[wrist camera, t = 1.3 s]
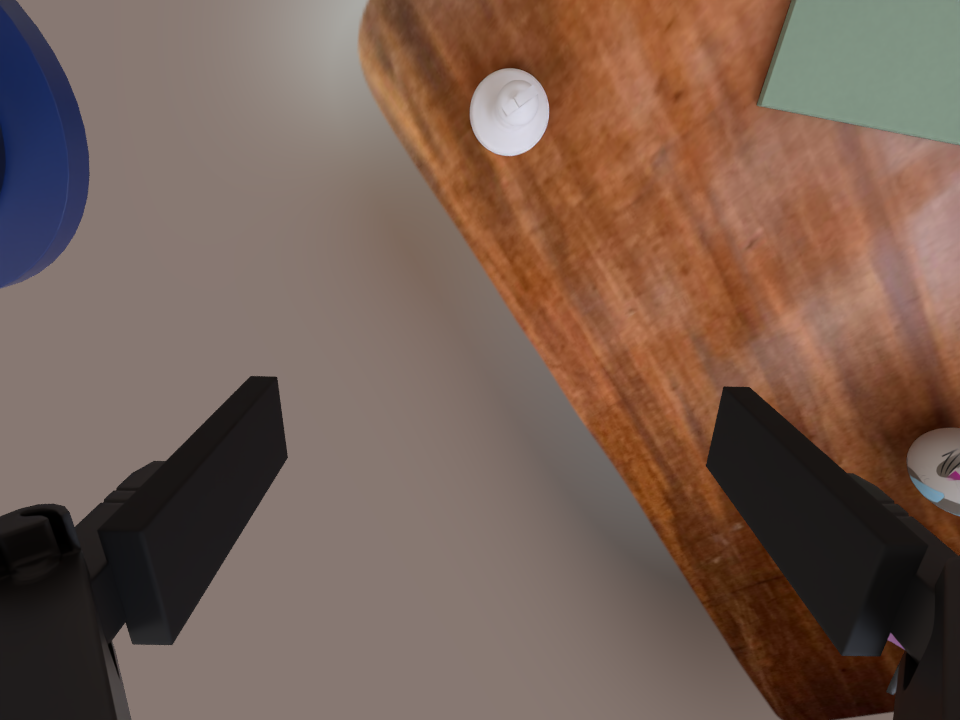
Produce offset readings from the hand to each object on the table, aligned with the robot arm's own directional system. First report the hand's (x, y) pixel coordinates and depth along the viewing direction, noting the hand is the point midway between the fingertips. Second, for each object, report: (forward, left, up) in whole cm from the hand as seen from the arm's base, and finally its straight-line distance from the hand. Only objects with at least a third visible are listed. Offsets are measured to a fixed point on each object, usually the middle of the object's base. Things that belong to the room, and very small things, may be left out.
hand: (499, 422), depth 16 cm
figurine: (+37, -8, -22) cm, 44 cm away
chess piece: (0, +10, -22) cm, 24 cm away
